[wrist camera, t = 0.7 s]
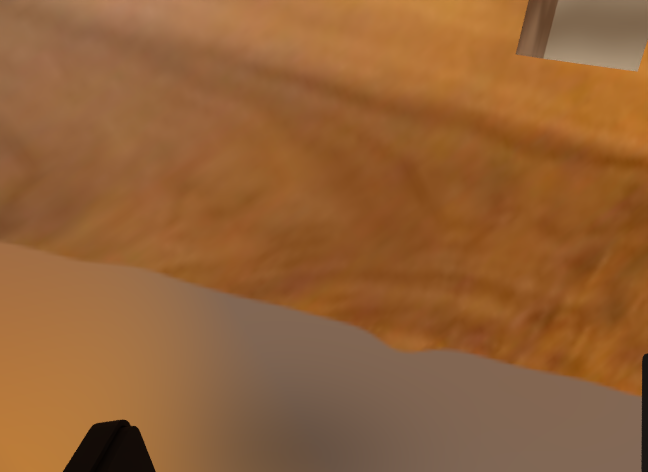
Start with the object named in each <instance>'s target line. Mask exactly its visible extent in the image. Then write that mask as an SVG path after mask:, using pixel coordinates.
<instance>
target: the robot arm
mask: <svg viewBox="0 0 648 472" xmlns="http://www.w3.org/2000/svg"><path fill="white" fill-rule="evenodd" d="M63 472H155V469H154V466H153V464H152V461H151V459H150V456H149V454H148V451H147V449H146V446H145V444H144V441H143V438H142V436H141V433H140V431H139V429H138V428H137V427H136V426H130V424H129V422H128V421H126V420H116V421H109V422H103V423H97V424H94V425H93V426H92V427H91V428H90V430H89V431H88V433H87V434H86V436H85V438H84V439H83V441H82V442H81V444H80V446H79V447H78V449H77V450H76V452H75V453H74V455H73V457H72V458H71V460H70V461H69V463H68V464H67V466H66V468H65V469H64V471H63ZM642 472H648V354H645V355H644V356H643V360H642Z"/></svg>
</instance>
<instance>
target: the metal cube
mask: <svg viewBox="0 0 648 472" xmlns="http://www.w3.org/2000/svg"><path fill="white" fill-rule="evenodd" d="M647 40H648V0H529V2H528V6H527V10H526V14H525V18H524V22H523V27H522V31H521V35H520V39H519V43H518V47H517V52H516V54H517V55H524V56H530V57H537V58H543V59H551V60H558V61H565V62H573V63H580V64H587V65H594V66H602V67H609V68H616V69H623V70H631V71H638V68H639V65H640V62H641V59H642V56H643V53H644V49H645V46H646V43H647Z"/></svg>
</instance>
